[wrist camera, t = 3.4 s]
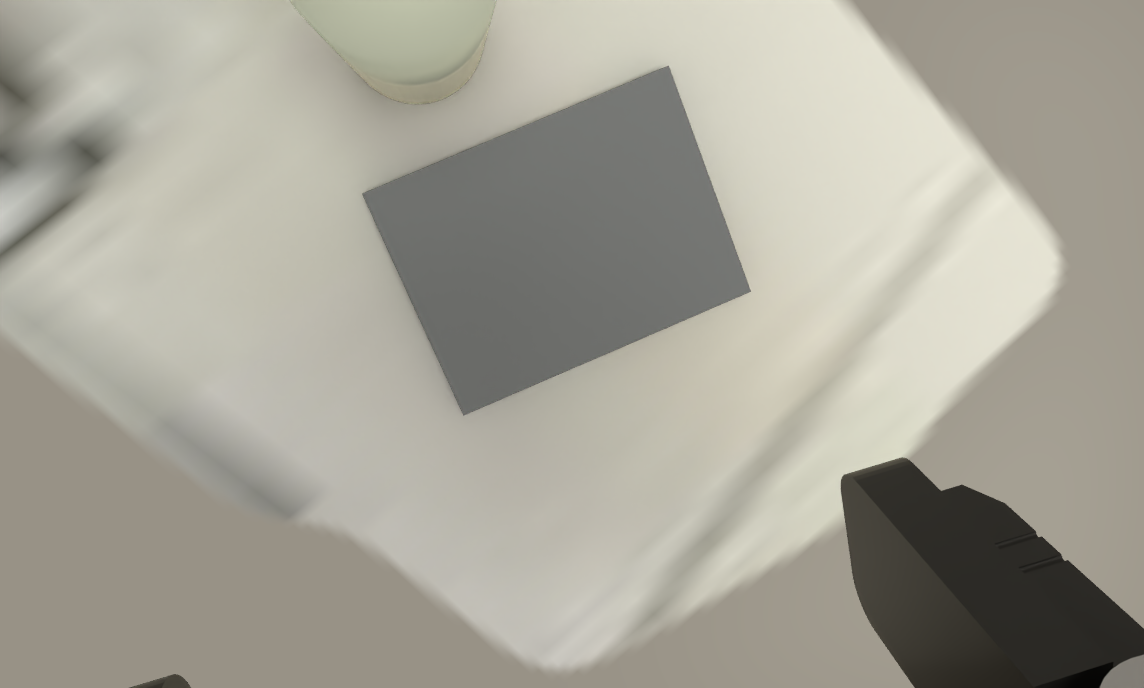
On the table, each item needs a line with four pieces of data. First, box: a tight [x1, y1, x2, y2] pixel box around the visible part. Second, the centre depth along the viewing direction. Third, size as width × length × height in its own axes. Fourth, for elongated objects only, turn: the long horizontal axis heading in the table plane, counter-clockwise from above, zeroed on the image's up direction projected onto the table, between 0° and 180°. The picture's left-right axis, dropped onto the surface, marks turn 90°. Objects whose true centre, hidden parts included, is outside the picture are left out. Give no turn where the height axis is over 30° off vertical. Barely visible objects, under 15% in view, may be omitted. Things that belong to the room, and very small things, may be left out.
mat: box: [363, 66, 751, 415], centre depth 34 cm, size 9×12×1 cm
